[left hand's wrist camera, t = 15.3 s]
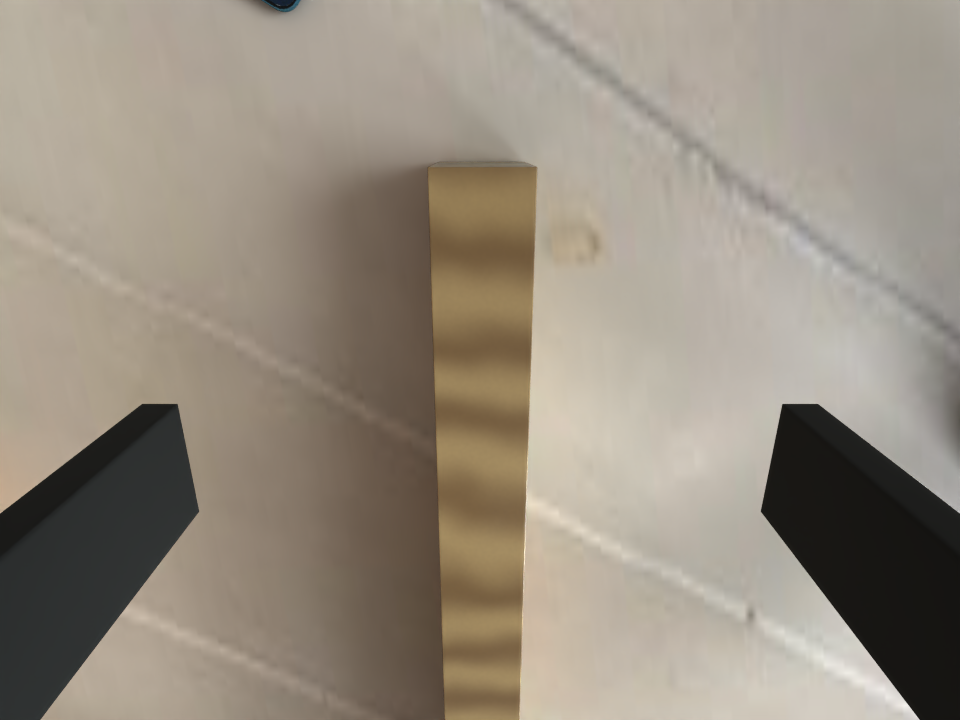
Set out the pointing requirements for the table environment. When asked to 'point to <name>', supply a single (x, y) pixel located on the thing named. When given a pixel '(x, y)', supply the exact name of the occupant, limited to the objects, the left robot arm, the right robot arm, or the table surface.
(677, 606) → the table surface
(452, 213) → the bar
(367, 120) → the table surface
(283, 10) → the smartphone
